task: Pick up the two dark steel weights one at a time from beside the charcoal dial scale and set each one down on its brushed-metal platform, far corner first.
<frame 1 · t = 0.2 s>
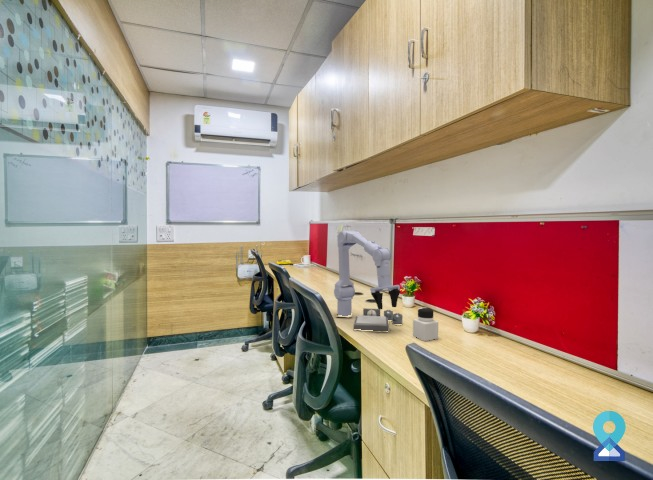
hand: (387, 308, 135), 10 cm above the table, tool pointing down, fingers open, 7 cm apart
weight a: (388, 320, 154), on the table
weight b: (397, 324, 147), on the table
medicine bottle: (425, 338, 128), on the table
scale: (371, 326, 143), on the table
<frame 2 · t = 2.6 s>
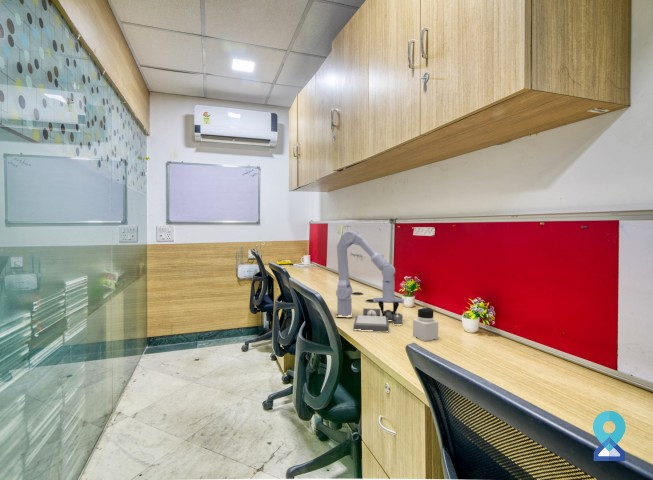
hand: (388, 317, 154), 1 cm above the table, tool pointing down, fingers closed on weight a, 4 cm apart
weight a: (388, 320, 154), on the table, touching gripper
everything else where it was.
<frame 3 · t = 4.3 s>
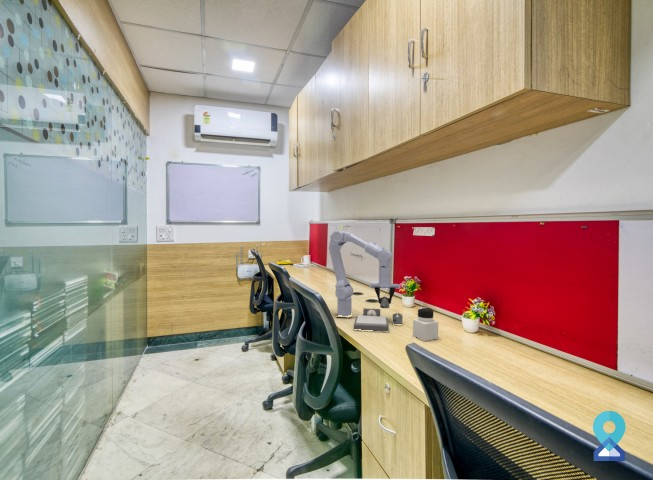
hand: (384, 303, 152), 9 cm above the table, tool pointing down, fingers closed on weight a, 4 cm apart
weight a: (384, 307, 152), point 7 cm above the table, touching gripper
everything else where it was.
when the fingers open (6 cm above the table, at t = 6.2 s): weight a stays where it is, resting on scale.
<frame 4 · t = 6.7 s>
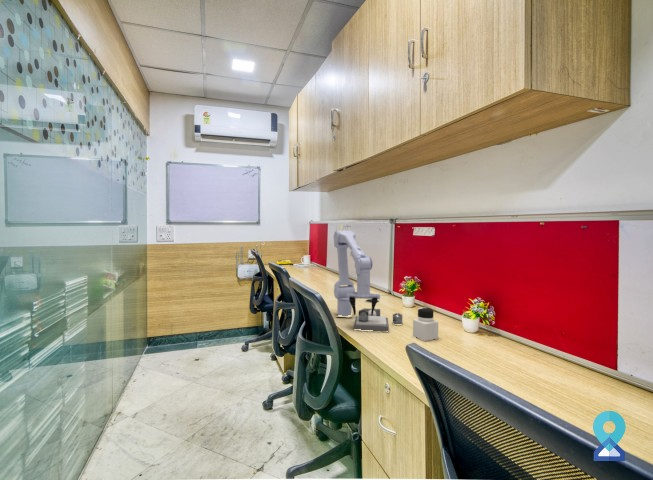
hand: (363, 314, 140), 6 cm above the table, tool pointing down, fingers open, 7 cm apart
weight a: (363, 320, 141), point 3 cm above the table, touching scale
everything else where it was.
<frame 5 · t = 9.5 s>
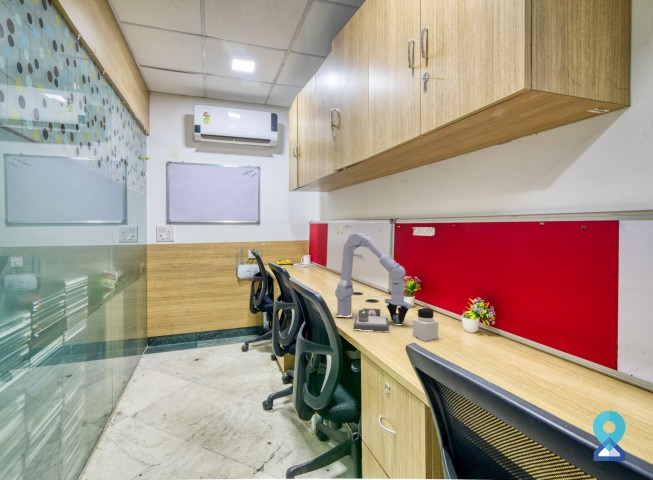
hand: (397, 321, 147), 1 cm above the table, tool pointing down, fingers closed on weight b, 4 cm apart
weight b: (397, 324, 147), on the table, touching gripper
everything else where it was.
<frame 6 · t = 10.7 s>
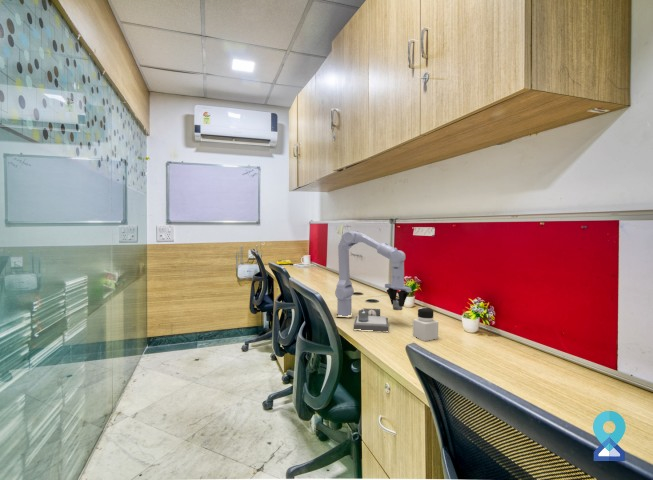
hand: (397, 305, 147), 9 cm above the table, tool pointing down, fingers closed on weight b, 4 cm apart
weight b: (397, 309, 147), point 7 cm above the table, touching gripper
everything else where it was.
when the fingers open (6 cm above the table, at t = 12.3 s): weight b stays where it is, resting on scale.
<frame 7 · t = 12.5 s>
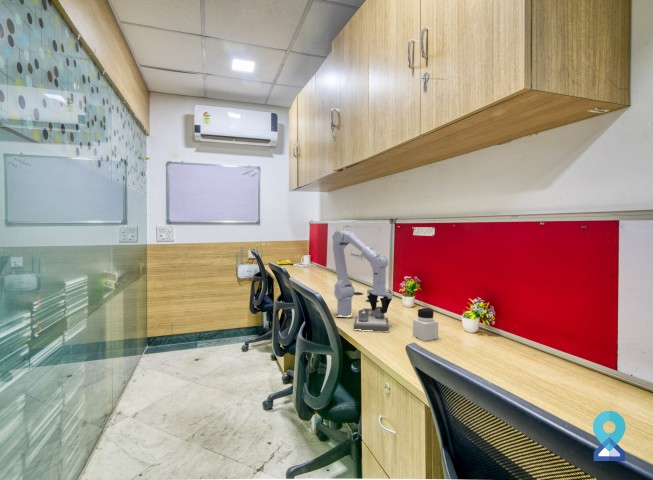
hand: (379, 311, 146), 6 cm above the table, tool pointing down, fingers open, 6 cm apart
weight b: (379, 317, 146), point 3 cm above the table, touching scale
everything else where it was.
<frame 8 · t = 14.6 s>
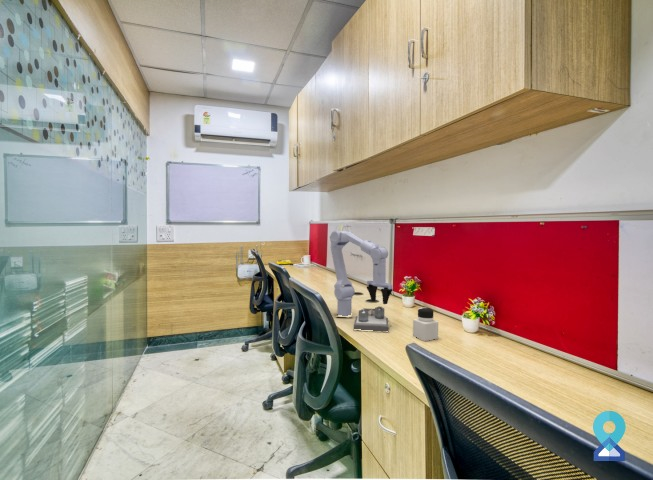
hand: (379, 302, 146), 10 cm above the table, tool pointing down, fingers open, 7 cm apart
nothing on the table moved.
at the end: weight a inside the target area on the scale (4.5 cm from its centre), point 3.3 cm above the scale's base; weight b inside the target area on the scale (5.2 cm from its centre), point 3.3 cm above the scale's base; weight b tilted 0° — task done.
